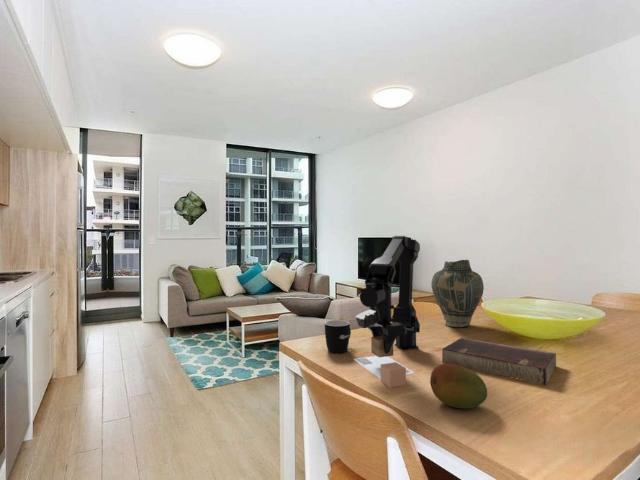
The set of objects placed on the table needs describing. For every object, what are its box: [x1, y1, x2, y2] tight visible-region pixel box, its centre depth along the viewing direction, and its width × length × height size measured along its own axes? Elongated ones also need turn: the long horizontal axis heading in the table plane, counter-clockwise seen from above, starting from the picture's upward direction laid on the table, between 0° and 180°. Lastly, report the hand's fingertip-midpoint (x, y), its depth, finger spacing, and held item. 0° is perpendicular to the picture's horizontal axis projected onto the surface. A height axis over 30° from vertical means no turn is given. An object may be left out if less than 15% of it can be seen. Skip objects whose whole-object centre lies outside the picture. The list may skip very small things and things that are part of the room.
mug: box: [324, 319, 352, 354], centre depth 134 cm, size 12×9×10 cm
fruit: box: [429, 363, 488, 409], centre depth 91 cm, size 12×12×10 cm
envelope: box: [353, 355, 415, 380], centre depth 117 cm, size 12×18×1 cm, turn 20°
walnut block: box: [370, 336, 394, 357], centre depth 117 cm, size 5×5×5 cm
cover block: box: [380, 361, 407, 389], centre depth 104 cm, size 5×5×5 cm
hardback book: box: [441, 337, 557, 386], centre depth 118 cm, size 29×19×5 cm, turn 50°
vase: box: [430, 259, 485, 328], centre depth 168 cm, size 22×22×30 cm
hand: (382, 350), depth 117 cm, fingers closed on walnut block, 5 cm apart
